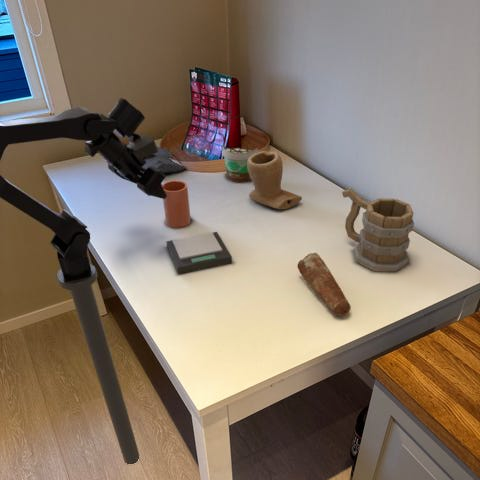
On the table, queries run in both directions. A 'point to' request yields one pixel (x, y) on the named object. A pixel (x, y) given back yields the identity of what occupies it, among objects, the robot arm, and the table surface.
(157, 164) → the dark slate chunk
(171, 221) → the tumbler
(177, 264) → the kitchen scale
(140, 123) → the robot arm
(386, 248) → the tankard
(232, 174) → the food container
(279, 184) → the clay pipe bowl
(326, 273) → the brown tapered rod
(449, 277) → the table surface
